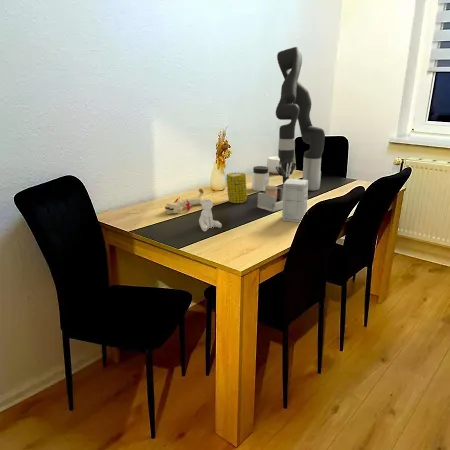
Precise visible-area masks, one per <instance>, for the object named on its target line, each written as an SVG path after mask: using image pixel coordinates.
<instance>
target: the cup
mask: <svg viewBox="0 0 450 450" xmlns="http://www.w3.org/2000/svg"><path fill="white" fill-rule="evenodd" d="M279 162H280V159H279V158H278V155H277V156H269V157H267V160H266V167H268V172H269V173H271V174H273V175H279V173H278V172H277V170H276V167H278V166H279Z"/></svg>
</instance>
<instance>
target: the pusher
mask: <svg viewBox="0 0 450 450" xmlns="http://www.w3.org/2000/svg"><path fill="white" fill-rule="evenodd" d="M282 200H283V188H282V187H278V190H277V202H279V201H282Z"/></svg>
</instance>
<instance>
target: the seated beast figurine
mask: <svg viewBox="0 0 450 450" xmlns="http://www.w3.org/2000/svg"><path fill="white" fill-rule="evenodd" d="M202 200H203V201H199V203H200V204H199V205H201V207H202V211H201V213H200V216H199V219H198V222H199V223H198V224H199V226H200V229H201V230H202V231H203V232H207V230H209V228H210V229H214V227H215V228H219V229H221V228H222V226H223V224H222V223H221V222H220V221H219V220H214V219H213V212H212V208H213V207H214V205H213V200H212V199H210V198H203V199H202ZM212 227H213V228H212Z"/></svg>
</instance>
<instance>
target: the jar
mask: <svg viewBox="0 0 450 450" xmlns="http://www.w3.org/2000/svg"><path fill="white" fill-rule="evenodd" d="M252 169H253V170H252V182H251V184H252V186H251V188H252V190H254V191H256V192H257V191H258V192H265V187H266V186H270V185H269V181H270V180H269V179H270V172H269V170H268V167H267V166H266V165H265V166H263V165H260V166H259V165H255V166H253V168H252Z"/></svg>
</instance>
